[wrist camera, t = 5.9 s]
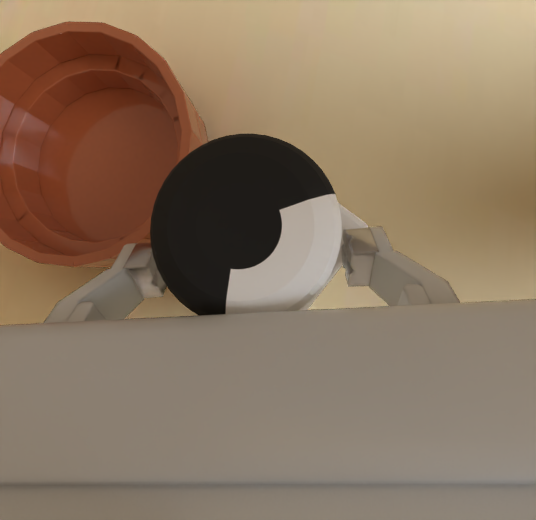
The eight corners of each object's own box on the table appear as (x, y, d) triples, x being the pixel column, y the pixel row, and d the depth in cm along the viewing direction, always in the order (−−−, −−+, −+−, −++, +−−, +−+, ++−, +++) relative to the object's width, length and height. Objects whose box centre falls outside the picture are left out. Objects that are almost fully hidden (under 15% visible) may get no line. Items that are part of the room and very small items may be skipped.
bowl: (112, 34, 22) (65, -27, 18) (254, 156, 21) (242, 125, 16) (-10, 179, 23) (-85, 157, 18) (121, 307, 21) (75, 317, 17)
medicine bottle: (200, 260, 21) (74, 248, 9) (262, 179, 21) (217, 56, 9) (281, 325, 20) (260, 404, 8) (346, 241, 20) (421, 199, 8)
